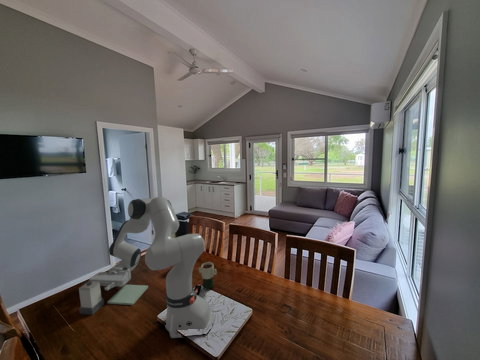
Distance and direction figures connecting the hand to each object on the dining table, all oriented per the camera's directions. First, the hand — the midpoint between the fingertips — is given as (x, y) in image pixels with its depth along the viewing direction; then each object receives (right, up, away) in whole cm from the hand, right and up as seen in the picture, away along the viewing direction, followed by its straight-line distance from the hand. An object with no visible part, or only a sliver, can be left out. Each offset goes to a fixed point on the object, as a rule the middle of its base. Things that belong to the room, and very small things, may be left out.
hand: (97, 288), depth 103 cm
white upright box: (0, -5, -4) cm, 6 cm away
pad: (+13, -7, +6) cm, 16 cm away
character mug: (+56, -5, +11) cm, 57 cm away
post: (0, -8, -3) cm, 9 cm away
